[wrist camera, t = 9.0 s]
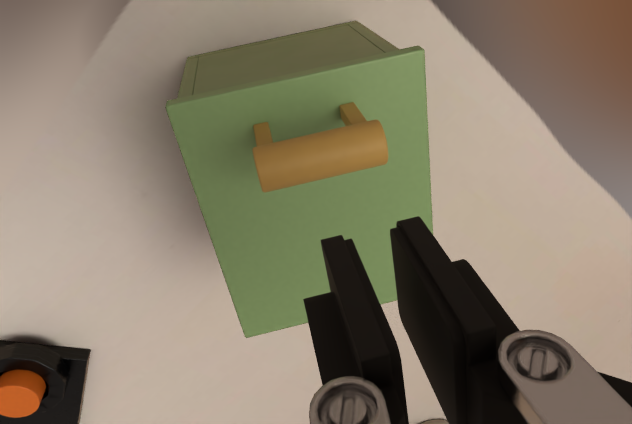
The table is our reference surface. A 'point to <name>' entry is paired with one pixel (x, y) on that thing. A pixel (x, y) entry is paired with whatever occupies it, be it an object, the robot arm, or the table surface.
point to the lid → (307, 176)
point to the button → (20, 393)
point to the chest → (280, 57)
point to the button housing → (49, 379)
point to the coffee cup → (436, 422)
